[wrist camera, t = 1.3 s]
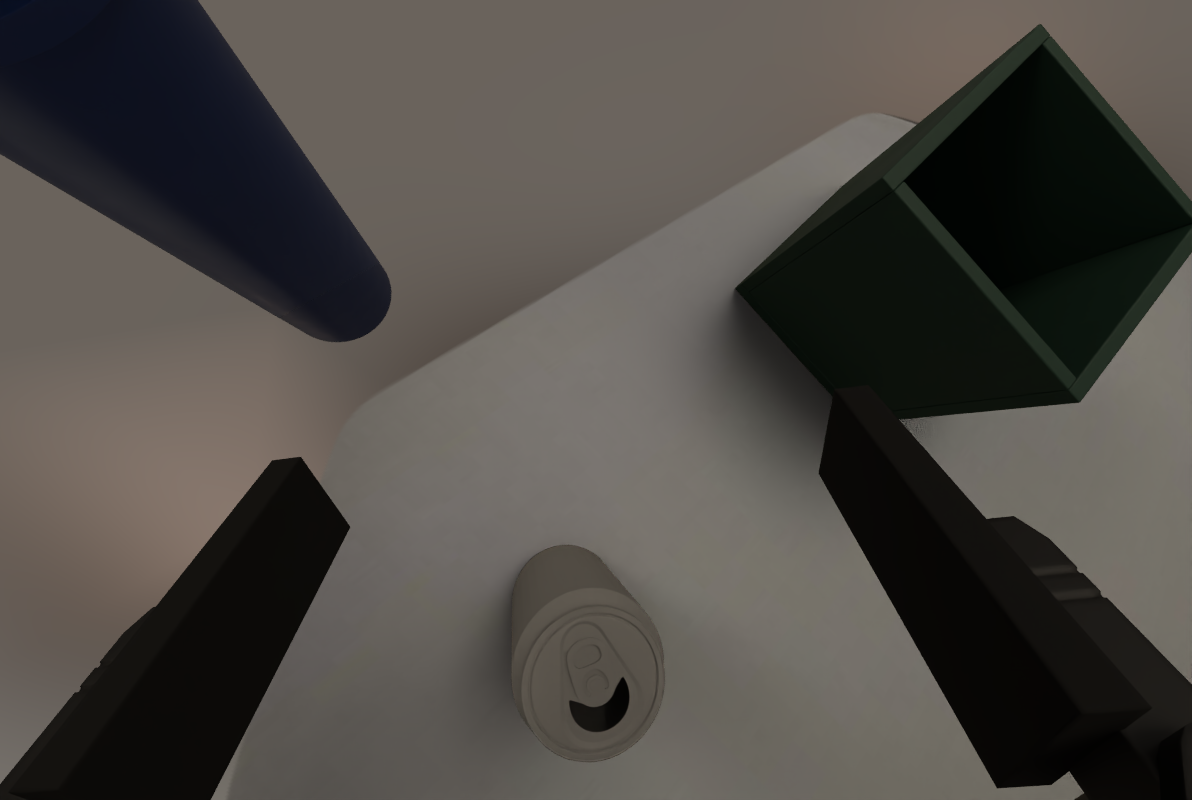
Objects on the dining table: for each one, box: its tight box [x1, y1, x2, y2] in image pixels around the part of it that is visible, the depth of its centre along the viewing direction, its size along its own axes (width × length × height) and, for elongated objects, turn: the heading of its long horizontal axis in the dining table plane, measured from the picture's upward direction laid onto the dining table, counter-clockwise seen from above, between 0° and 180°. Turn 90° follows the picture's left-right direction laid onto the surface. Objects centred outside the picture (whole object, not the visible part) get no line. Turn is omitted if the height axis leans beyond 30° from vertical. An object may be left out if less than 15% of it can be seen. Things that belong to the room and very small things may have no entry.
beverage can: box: [511, 545, 665, 762], centre depth 24 cm, size 6×6×12 cm
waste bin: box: [735, 24, 1192, 419], centre depth 29 cm, size 14×14×14 cm
